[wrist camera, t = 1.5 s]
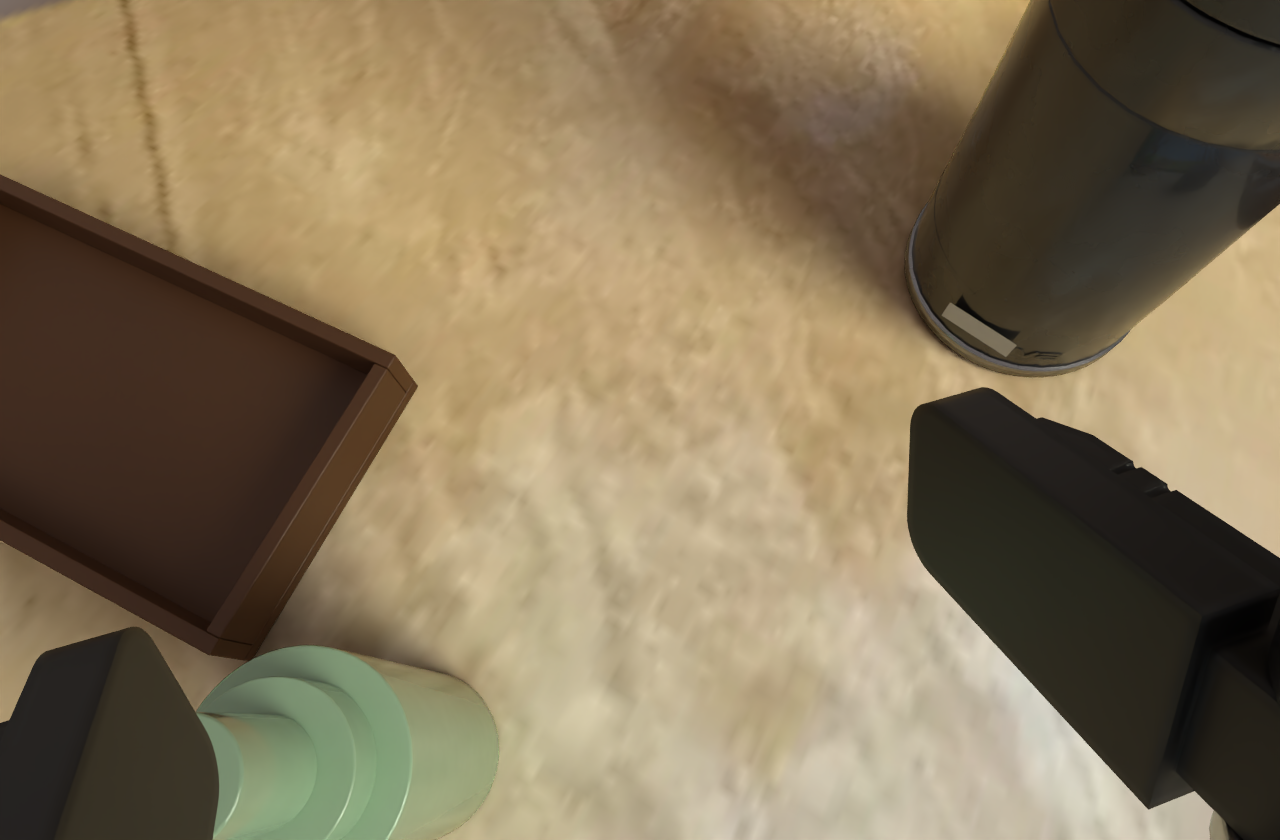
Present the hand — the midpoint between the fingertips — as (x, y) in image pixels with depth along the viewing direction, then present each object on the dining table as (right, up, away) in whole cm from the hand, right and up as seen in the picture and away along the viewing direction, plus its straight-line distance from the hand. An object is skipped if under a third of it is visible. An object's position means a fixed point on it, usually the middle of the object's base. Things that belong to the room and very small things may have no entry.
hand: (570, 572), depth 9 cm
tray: (-21, +2, +26) cm, 33 cm away
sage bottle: (-7, -10, +21) cm, 25 cm away
